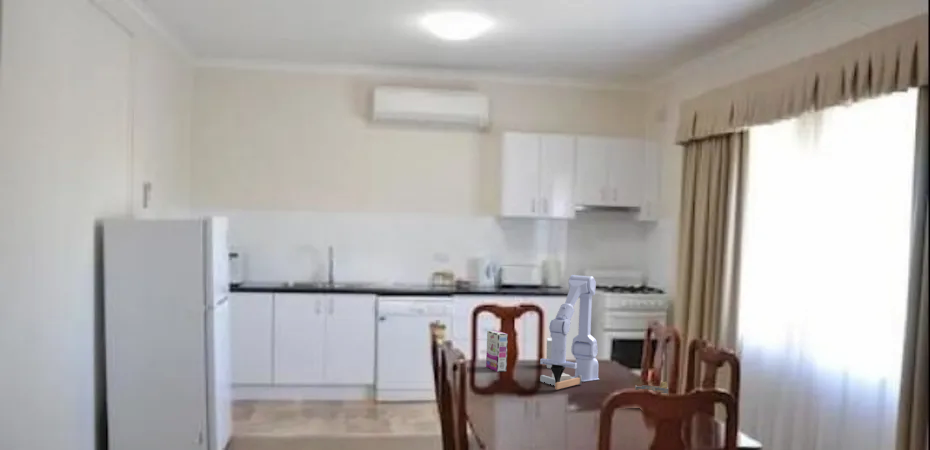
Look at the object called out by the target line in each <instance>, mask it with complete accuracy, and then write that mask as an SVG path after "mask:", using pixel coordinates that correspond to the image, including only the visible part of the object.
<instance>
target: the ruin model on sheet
mask: <svg viewBox="0 0 930 450" xmlns="http://www.w3.org/2000/svg"><path fill="white" fill-rule="evenodd" d="M639 389H648V390H653V391H657V392H661V393H667V394H668V395H669V387H668V381H662V380H661V381H660V385H658V386H654V385H641V386H637V384H635V389H634V390H639Z"/></svg>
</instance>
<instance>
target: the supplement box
mask: <svg viewBox="0 0 930 450" xmlns="http://www.w3.org/2000/svg"><path fill="white" fill-rule="evenodd" d="M551 347H552V338H551V337H547V338H546V359H551ZM545 365H546V369H551V367H552V365H547V364H545Z"/></svg>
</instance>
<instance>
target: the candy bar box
mask: <svg viewBox="0 0 930 450" xmlns="http://www.w3.org/2000/svg"><path fill="white" fill-rule="evenodd" d="M486 333H487V334H486V354H485V355H486V359H485V367H486V369H489V370H492V371H494V372H497V373H501V372H502V373H503V372H507V368H508V367H507V365H508V343H509V342H508V338H509V334H508V333H505V332H502V331H499V330H487V332H486Z"/></svg>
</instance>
